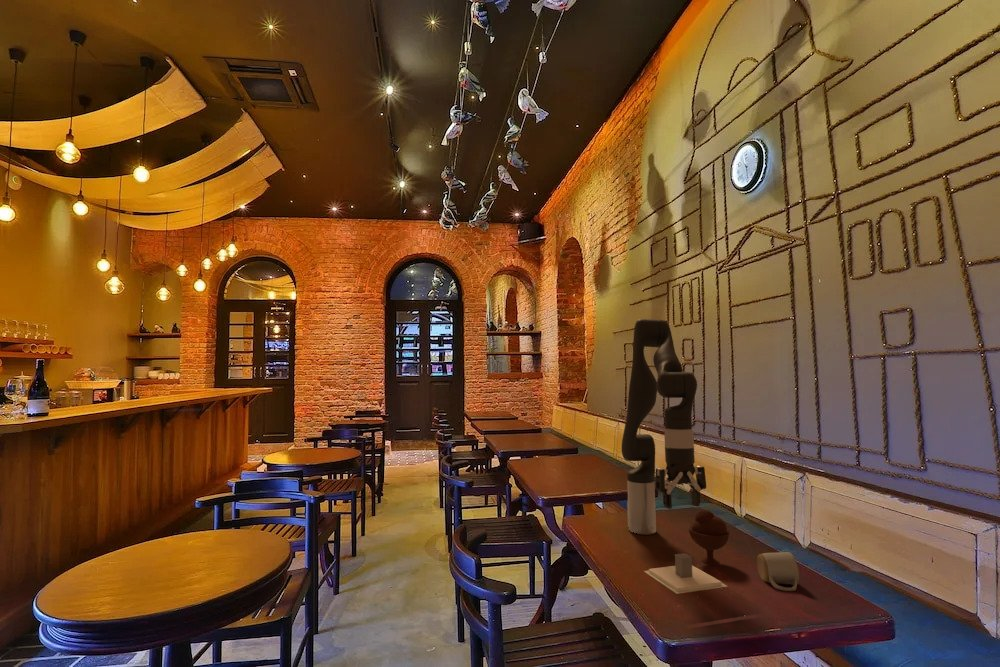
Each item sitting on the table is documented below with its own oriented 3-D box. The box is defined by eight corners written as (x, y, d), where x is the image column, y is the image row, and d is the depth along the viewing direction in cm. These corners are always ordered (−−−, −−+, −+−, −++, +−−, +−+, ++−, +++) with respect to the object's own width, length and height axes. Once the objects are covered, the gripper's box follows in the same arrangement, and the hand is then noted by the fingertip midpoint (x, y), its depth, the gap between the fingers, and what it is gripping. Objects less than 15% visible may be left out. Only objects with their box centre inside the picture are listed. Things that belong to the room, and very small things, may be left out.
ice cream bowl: (688, 567, 143) (686, 513, 144) (693, 554, 153) (691, 504, 154) (729, 574, 138) (726, 517, 139) (731, 560, 148) (729, 508, 149)
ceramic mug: (755, 576, 136) (754, 547, 137) (788, 577, 135) (786, 548, 136) (771, 593, 126) (770, 562, 126) (806, 595, 125) (805, 563, 125)
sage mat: (643, 573, 139) (643, 571, 139) (690, 567, 143) (690, 565, 143) (676, 596, 125) (676, 593, 125) (727, 588, 129) (727, 586, 129)
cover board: (648, 572, 138) (648, 550, 139) (689, 566, 142) (688, 545, 142) (677, 591, 126) (676, 567, 126) (721, 585, 129) (720, 561, 130)
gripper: (692, 443, 143) (695, 501, 142) (648, 445, 139) (650, 505, 138) (710, 446, 136) (713, 507, 135) (664, 448, 132) (667, 512, 131)
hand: (681, 506), depth 136 cm, fingers open, 8 cm apart
